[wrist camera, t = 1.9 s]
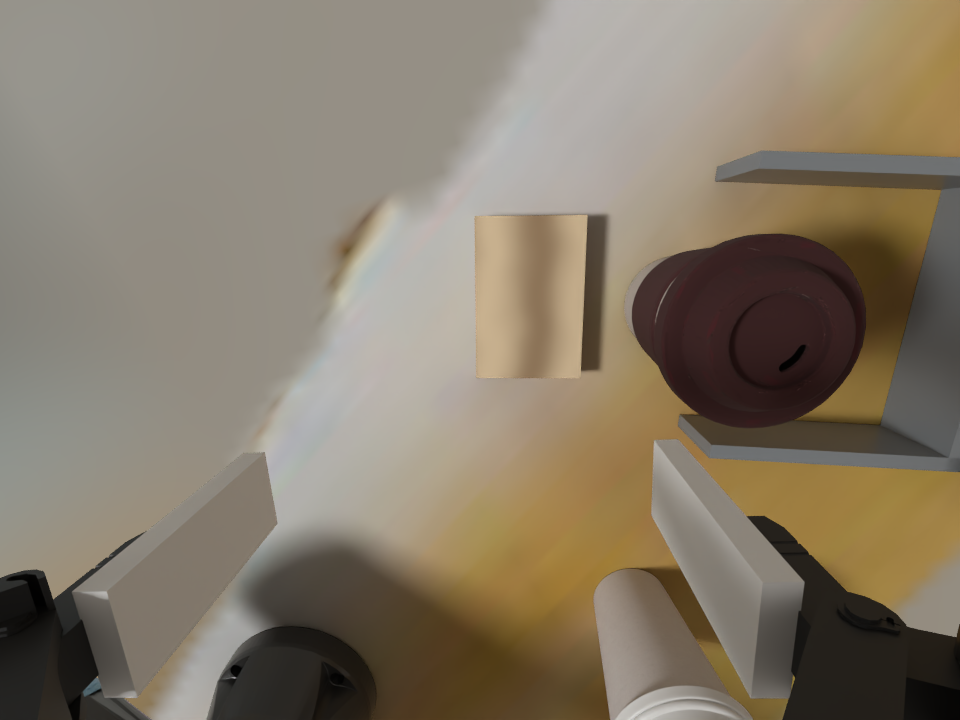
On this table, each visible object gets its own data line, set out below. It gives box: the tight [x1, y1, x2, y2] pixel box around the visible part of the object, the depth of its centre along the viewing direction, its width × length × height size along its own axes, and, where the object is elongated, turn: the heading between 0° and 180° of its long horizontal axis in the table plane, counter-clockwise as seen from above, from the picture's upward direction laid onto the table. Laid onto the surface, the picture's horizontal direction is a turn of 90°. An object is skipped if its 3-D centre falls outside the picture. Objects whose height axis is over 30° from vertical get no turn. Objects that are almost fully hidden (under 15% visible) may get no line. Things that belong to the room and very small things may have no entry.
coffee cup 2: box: [594, 569, 753, 720], centre depth 36 cm, size 10×10×15 cm
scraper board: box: [475, 215, 588, 378], centre depth 36 cm, size 8×12×2 cm, turn 1°
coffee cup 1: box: [624, 234, 866, 428], centre depth 29 cm, size 10×10×15 cm
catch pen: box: [678, 151, 960, 472], centre depth 33 cm, size 17×20×6 cm
